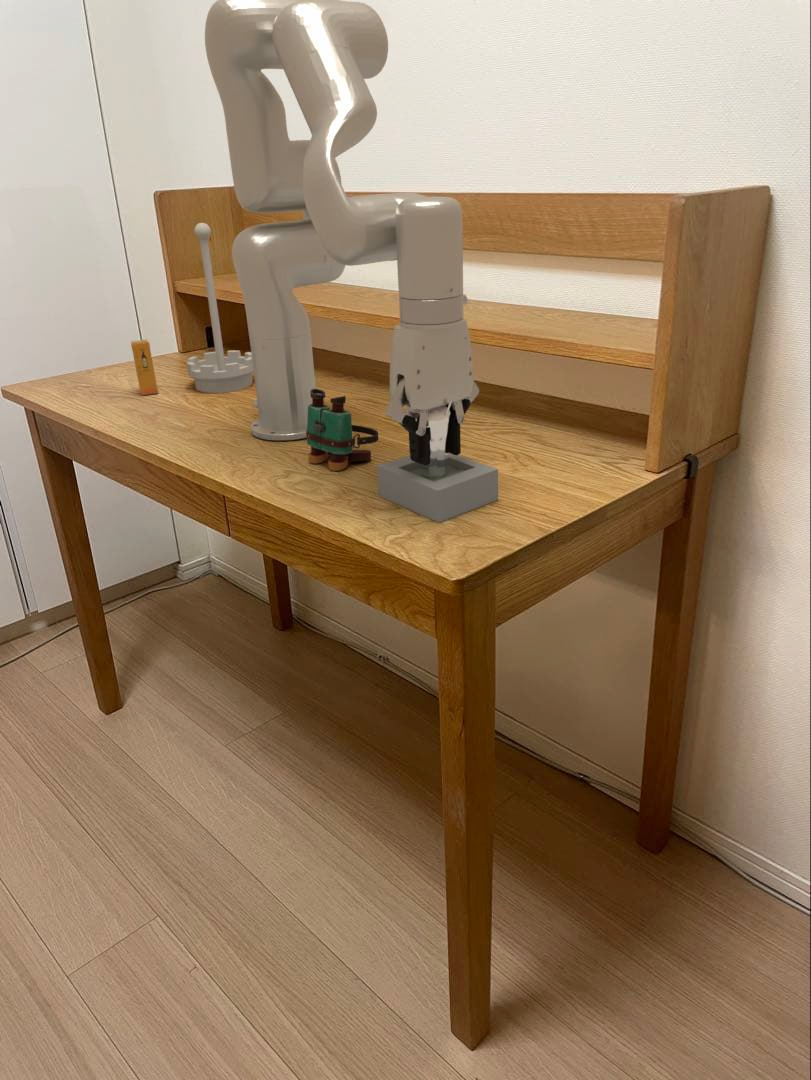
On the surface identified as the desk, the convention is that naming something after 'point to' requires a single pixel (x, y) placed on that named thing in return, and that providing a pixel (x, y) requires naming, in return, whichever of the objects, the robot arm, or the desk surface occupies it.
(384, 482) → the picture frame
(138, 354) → the supplement box
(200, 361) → the flag stand
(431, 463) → the milkshake
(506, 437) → the desk surface
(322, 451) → the binoculars
